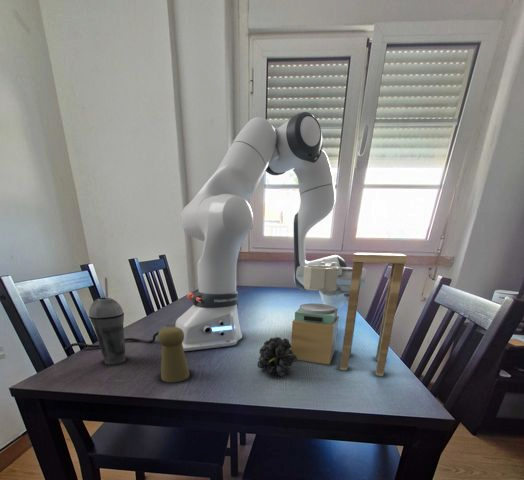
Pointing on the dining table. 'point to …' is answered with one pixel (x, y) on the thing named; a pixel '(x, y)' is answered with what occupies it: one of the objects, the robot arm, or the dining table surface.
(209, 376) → the dining table surface
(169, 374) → the olive game pawn
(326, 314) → the scale
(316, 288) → the cream faceted block
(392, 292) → the stand
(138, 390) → the dining table surface
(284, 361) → the fruit
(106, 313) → the beverage cup
